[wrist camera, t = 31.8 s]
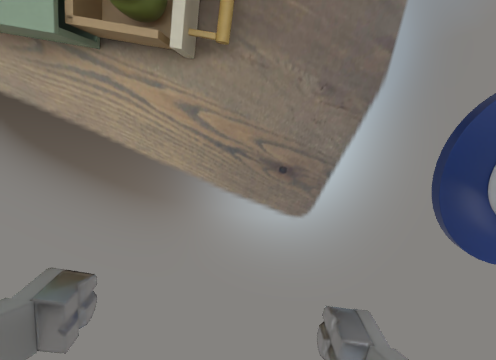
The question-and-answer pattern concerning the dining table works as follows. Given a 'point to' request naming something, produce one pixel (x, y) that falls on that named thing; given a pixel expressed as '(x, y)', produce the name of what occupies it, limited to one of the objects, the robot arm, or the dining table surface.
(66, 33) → the cabinet
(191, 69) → the dining table surface
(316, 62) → the dining table surface
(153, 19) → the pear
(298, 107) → the dining table surface
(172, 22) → the drawer
